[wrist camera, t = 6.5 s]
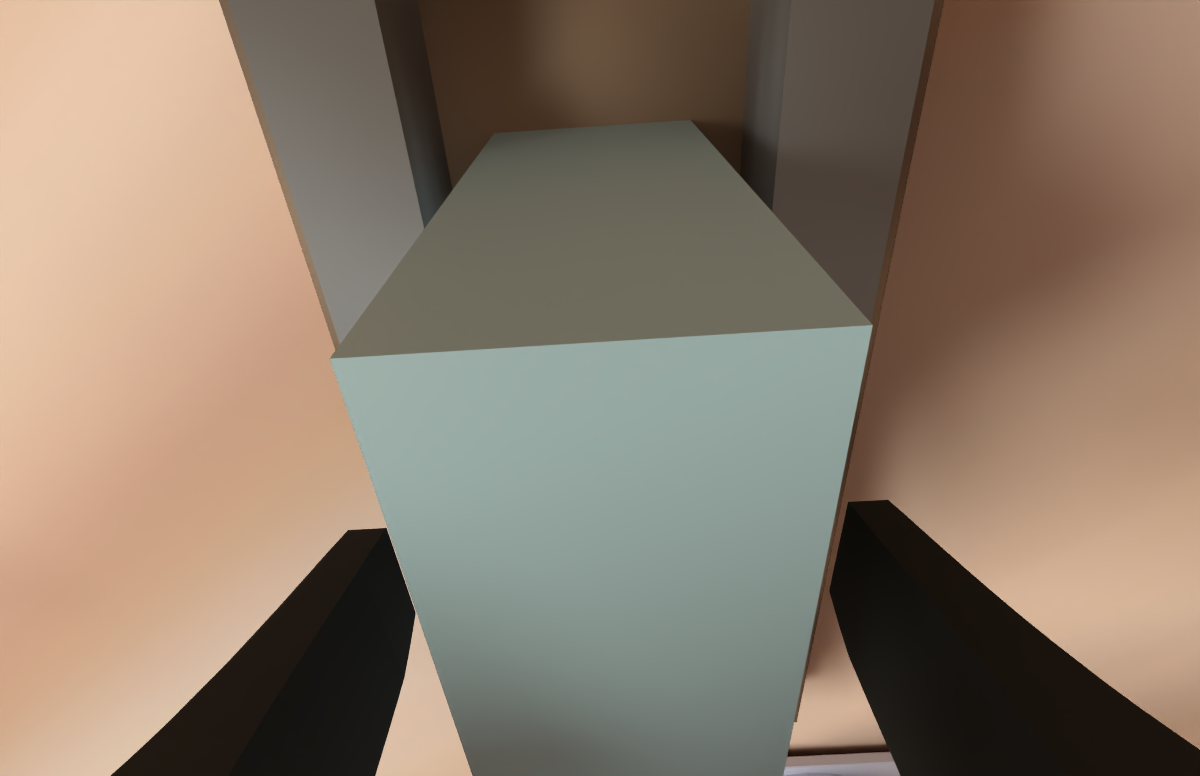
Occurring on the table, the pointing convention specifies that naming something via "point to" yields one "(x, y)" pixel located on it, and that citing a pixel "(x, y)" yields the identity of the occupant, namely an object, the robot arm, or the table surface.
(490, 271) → the door panel
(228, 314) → the table surface
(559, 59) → the door track
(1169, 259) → the table surface
